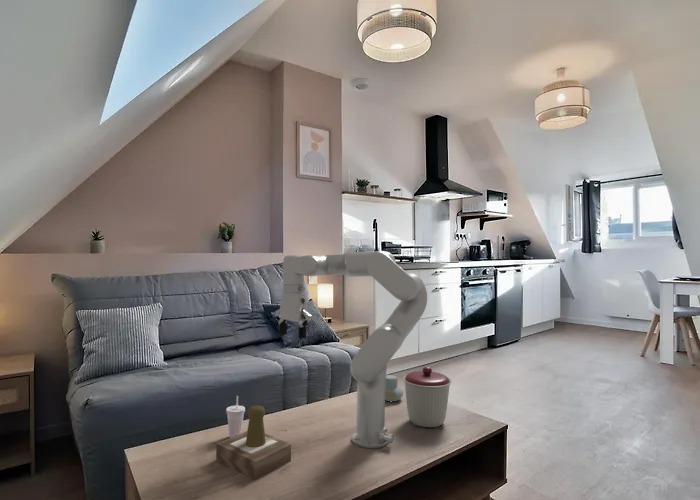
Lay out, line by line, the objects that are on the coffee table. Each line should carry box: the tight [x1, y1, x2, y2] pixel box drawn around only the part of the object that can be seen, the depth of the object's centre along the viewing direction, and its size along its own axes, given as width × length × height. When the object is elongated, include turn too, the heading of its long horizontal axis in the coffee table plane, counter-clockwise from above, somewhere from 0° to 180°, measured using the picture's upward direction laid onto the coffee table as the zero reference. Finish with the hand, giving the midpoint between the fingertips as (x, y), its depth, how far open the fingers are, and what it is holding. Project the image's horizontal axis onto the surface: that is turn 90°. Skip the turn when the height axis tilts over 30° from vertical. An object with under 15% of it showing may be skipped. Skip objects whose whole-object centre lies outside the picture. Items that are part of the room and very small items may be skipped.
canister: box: [402, 366, 452, 429], centre depth 159 cm, size 18×18×21 cm
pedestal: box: [215, 430, 292, 481], centre depth 128 cm, size 18×14×5 cm
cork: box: [246, 405, 266, 447], centre depth 128 cm, size 6×6×11 cm
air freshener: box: [385, 374, 404, 402], centre depth 184 cm, size 11×8×10 cm
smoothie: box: [225, 395, 246, 438], centre depth 144 cm, size 6×6×14 cm
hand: (292, 336), depth 152 cm, fingers open, 9 cm apart
